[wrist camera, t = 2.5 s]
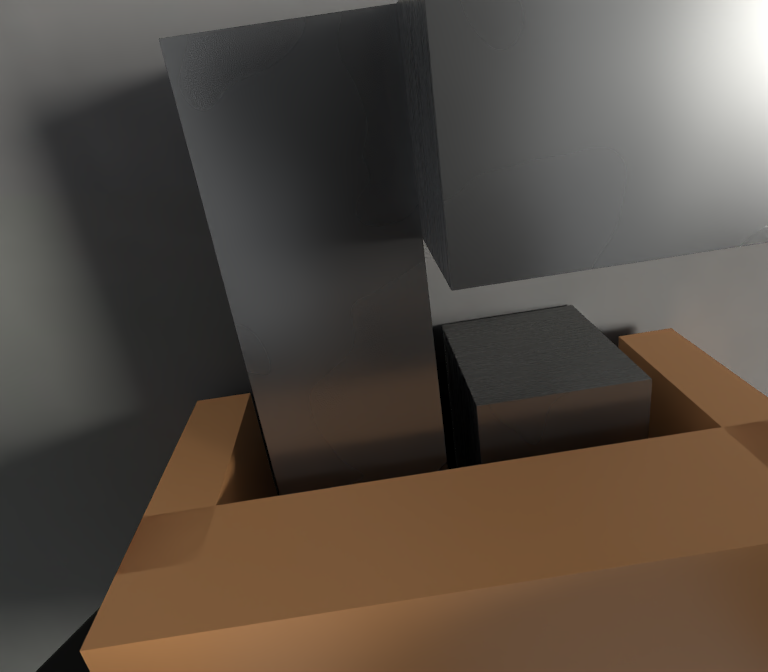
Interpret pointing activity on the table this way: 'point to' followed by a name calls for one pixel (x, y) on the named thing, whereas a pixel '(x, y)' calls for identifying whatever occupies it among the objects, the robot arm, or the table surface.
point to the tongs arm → (450, 185)
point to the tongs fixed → (540, 387)
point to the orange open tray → (462, 551)
